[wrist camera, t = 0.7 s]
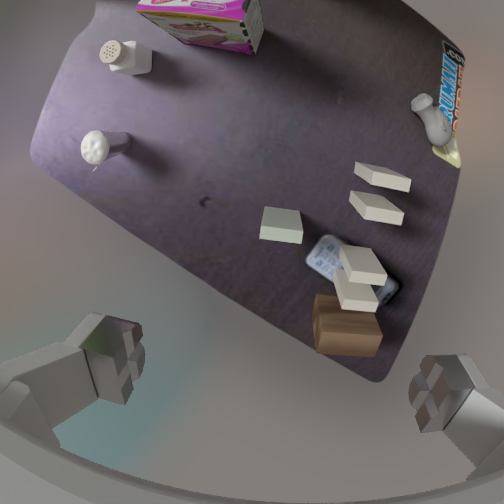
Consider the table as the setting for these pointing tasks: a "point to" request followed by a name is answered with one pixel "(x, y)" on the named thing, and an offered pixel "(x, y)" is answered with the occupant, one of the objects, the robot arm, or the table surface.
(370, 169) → the domino
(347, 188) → the table surface
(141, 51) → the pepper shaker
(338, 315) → the end block
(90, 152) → the milkshake
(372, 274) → the domino
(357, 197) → the domino
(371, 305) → the domino
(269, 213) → the domino
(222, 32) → the candy bar box
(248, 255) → the table surface
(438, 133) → the smooth white sculpture
